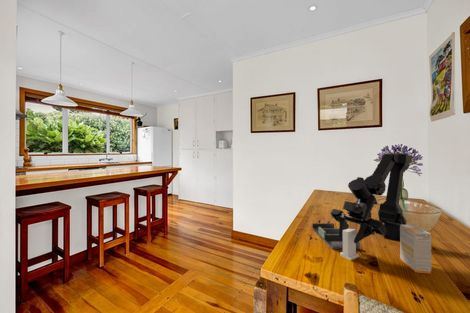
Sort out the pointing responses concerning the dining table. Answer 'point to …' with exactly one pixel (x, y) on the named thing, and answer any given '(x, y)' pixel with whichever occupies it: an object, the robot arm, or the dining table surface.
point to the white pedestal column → (349, 244)
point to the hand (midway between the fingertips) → (347, 239)
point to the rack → (330, 235)
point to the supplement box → (415, 248)
